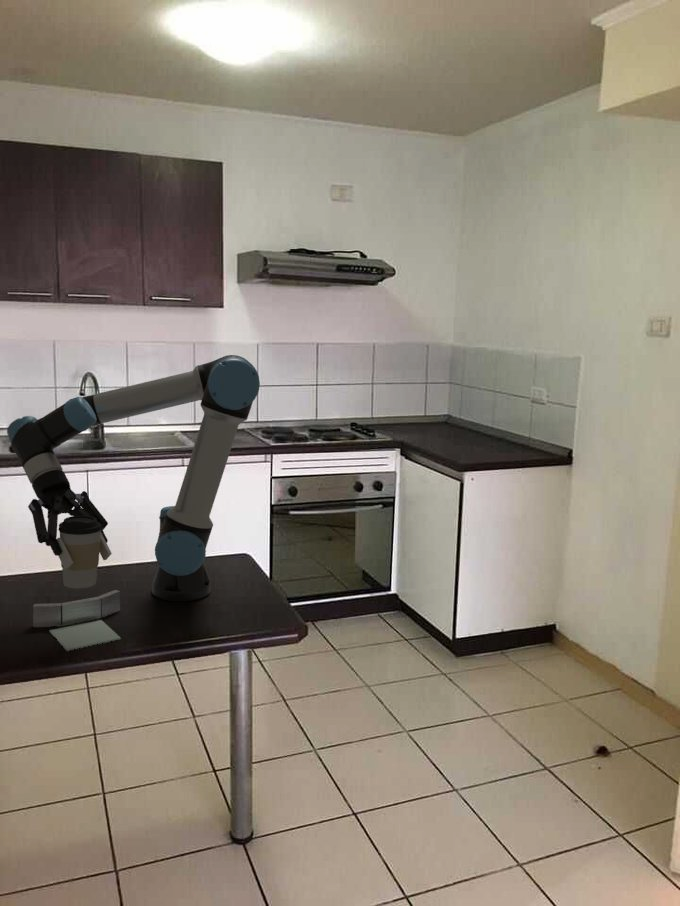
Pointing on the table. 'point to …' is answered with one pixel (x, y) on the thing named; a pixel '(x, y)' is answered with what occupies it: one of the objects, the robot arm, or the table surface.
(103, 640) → the mat
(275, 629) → the table surface
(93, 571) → the coffee cup
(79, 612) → the bent rail
